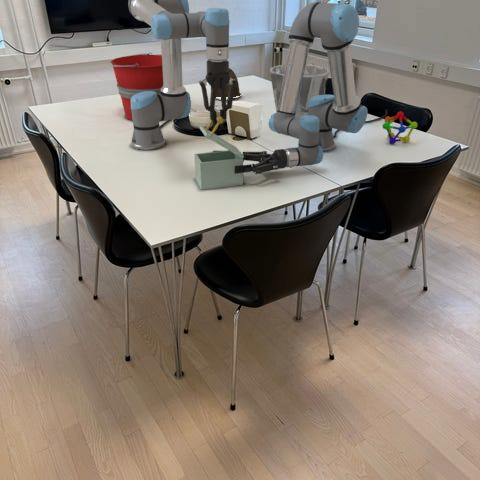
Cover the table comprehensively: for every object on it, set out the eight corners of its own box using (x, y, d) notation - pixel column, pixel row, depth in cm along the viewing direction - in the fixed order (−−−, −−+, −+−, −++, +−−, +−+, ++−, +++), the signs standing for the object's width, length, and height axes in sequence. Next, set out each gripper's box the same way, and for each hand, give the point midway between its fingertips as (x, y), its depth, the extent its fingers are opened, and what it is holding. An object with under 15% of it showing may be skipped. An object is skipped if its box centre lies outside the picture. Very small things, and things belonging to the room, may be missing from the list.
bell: (227, 105, 294) (202, 96, 282) (238, 66, 289) (213, 55, 277) (243, 108, 280) (217, 98, 268) (255, 66, 275) (229, 55, 263)
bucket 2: (296, 138, 215) (301, 78, 201) (255, 124, 234) (256, 68, 219) (335, 125, 232) (342, 70, 217) (294, 113, 251) (297, 61, 236)
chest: (201, 189, 166) (200, 163, 160) (195, 179, 174) (194, 153, 168) (242, 184, 170) (243, 158, 165) (235, 174, 178) (235, 149, 173)
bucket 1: (124, 106, 262) (117, 51, 246) (183, 106, 262) (180, 52, 246) (108, 124, 233) (99, 63, 217) (174, 124, 232) (170, 64, 216)
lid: (205, 136, 156) (218, 116, 153) (199, 127, 164) (211, 108, 161) (242, 158, 164) (255, 139, 162) (234, 149, 173) (246, 130, 170)
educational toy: (377, 146, 209) (379, 114, 202) (384, 138, 219) (386, 107, 211) (411, 149, 202) (415, 116, 195) (417, 141, 212) (420, 109, 204)
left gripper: (198, 62, 144) (200, 133, 156) (242, 61, 147) (241, 130, 160) (193, 58, 150) (195, 127, 162) (236, 57, 153) (235, 124, 166)
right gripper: (295, 178, 168) (239, 185, 163) (274, 157, 187) (223, 162, 181) (296, 159, 164) (239, 166, 159) (274, 140, 183) (223, 145, 177)
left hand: (218, 128), depth 161 cm, fingers closed on lid, 2 cm apart
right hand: (230, 164), depth 170 cm, fingers closed on chest, 10 cm apart
